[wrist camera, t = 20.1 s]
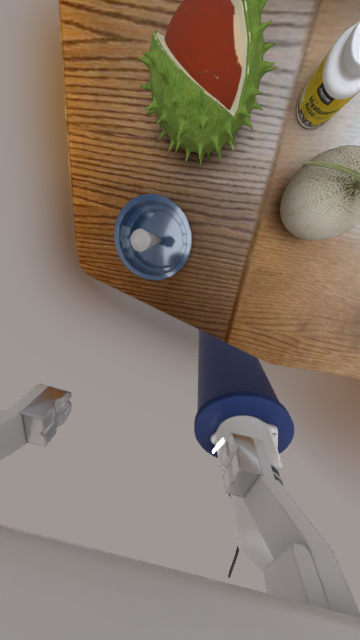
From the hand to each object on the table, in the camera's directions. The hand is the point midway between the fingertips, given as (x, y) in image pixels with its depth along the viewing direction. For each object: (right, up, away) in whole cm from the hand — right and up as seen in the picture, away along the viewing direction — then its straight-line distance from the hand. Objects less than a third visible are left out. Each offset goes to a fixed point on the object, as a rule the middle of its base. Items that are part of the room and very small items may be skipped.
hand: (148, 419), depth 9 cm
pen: (-2, +20, +25) cm, 32 cm away
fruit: (+22, +24, +22) cm, 39 cm away
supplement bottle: (+21, +35, +17) cm, 45 cm away
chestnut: (+5, +35, +19) cm, 40 cm away
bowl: (-2, +20, +26) cm, 33 cm away
